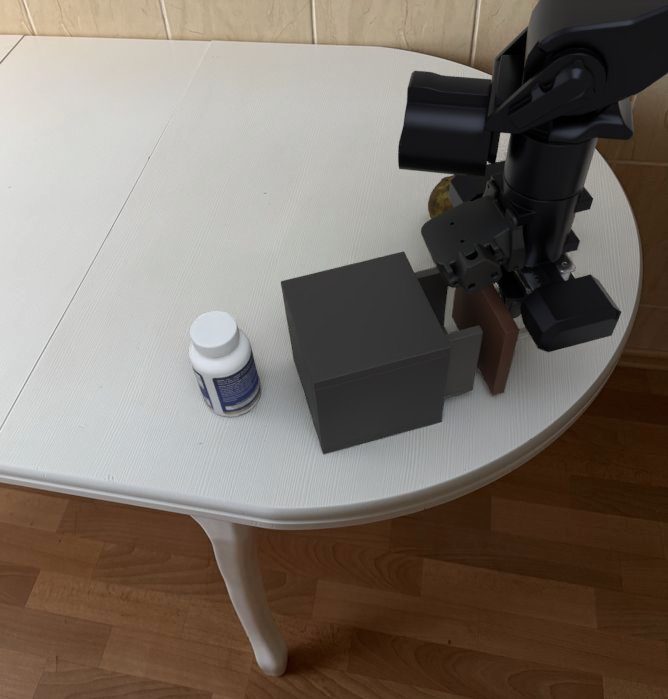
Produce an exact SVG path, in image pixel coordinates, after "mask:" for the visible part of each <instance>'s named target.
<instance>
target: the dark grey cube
mask: <svg viewBox="0 0 668 699" xmlns="http://www.w3.org/2000/svg"><path fill="white" fill-rule="evenodd" d="M414 272H415V271H414V269H413V267H412V265H411V262H410V260H409V258H408V257H407V254H406V253H405V251H400V252H395V253H392V254H387V255H382V256H379V257H374V258H371V259H367V260H362V261H359V262H358V261H357V262H354V263H350V264H346V265H341V266H338V267H334V268H330V269H326V270H321V271H318V272H313V273H309V274H303V275H301V276H297V277H292V278H288V279H284V280H281V281H280V285H281V286H280V287H281V292H282V299H283V305H284V306H283V307H284V311H285V317H286V323H287V329H288V334H289V341H290V346H291V353H292V358H293V363H294V366H295V368H296V372H297V375H298V378H299V381H300V384H301V388H302V391H303V394H304V397H305V400H306V404H307V407H308V410H309V413H310V416H311V420H312V423H313V427H314V430H315V432H316V436H317V439H318V443H319V446H320V449H321V452H322V454H323V455H327V454H330V453H334V452H339V451H341V450H345V449H349V448H352V447H356V446H359V445H363V444H367V443H370V442H374V441H377V440H381V439H384V438H389V437H392V436H395V435H399V434H403V433H406V432H410V431H413V430H417V429H421V428H424V427H428V426H431V425H436V424H438V423H441V422H442V421H443V415H444V414H443V413H444V405H445V398H446V397H445V391H446V383H447V375H448V367H449V359H450V351H451V346H450V344H449V342H448V340H447V338H446V336H445V334H444V332H443V330H442V327H441V325H440V323H439V321H438V319H437V317H436V315H435V313H434V311H433V309H432V307H431V305H430V303H429V301H428V299H427V297H426V295H425V293H424V291H423V289H422V287H421V285H420V283H419V281H418V279H417V277H416V275H415V273H414Z"/></svg>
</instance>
